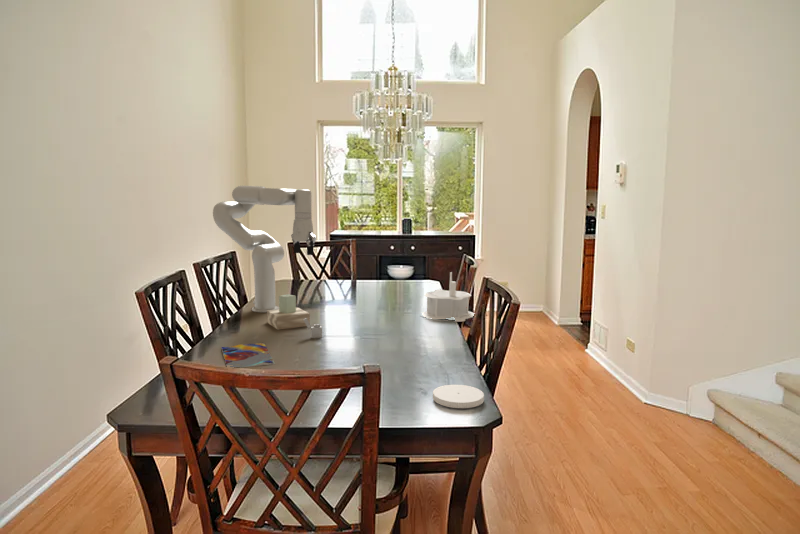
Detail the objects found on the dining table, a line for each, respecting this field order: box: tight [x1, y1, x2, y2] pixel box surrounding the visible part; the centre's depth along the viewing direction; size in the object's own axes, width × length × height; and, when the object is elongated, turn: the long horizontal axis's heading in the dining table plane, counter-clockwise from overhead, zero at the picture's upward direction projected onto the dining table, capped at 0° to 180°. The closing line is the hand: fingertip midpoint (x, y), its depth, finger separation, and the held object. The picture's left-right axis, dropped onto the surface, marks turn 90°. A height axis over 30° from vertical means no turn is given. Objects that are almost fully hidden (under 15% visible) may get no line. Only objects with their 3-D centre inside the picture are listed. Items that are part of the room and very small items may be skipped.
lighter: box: [303, 318, 323, 339], centre depth 217 cm, size 7×2×8 cm, turn 104°
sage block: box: [278, 294, 297, 314], centre depth 237 cm, size 5×5×7 cm
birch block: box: [266, 306, 311, 331], centre depth 238 cm, size 14×14×6 cm
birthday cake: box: [421, 271, 475, 323], centre depth 258 cm, size 30×29×22 cm
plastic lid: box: [432, 384, 485, 409], centre depth 153 cm, size 14×14×2 cm
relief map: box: [221, 342, 276, 369], centre depth 193 cm, size 25×15×2 cm, turn 22°
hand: (303, 253), depth 255 cm, fingers open, 9 cm apart
